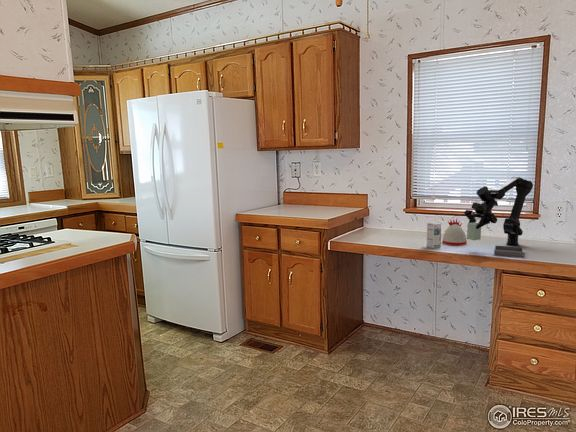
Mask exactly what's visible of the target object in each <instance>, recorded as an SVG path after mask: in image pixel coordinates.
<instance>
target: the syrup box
mask: <svg viewBox="0 0 576 432" xmlns="http://www.w3.org/2000/svg"><path fill="white" fill-rule="evenodd" d="M441 240H442V223H440V222H437V221H433V222H426V247H427V248H430V249H436V248H441V244H442V243H441Z"/></svg>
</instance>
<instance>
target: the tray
mask: <svg viewBox="0 0 576 432" xmlns="http://www.w3.org/2000/svg"><path fill="white" fill-rule="evenodd" d="M493 251H494V253H493V256H499V257H500V256H502V257H514V258H515V257H516V258H524V247H521V246H511V245H497V244H496V245H494V248H493Z"/></svg>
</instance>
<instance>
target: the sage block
mask: <svg viewBox="0 0 576 432" xmlns="http://www.w3.org/2000/svg"><path fill="white" fill-rule="evenodd" d="M478 223H479V222H473V223H469V222H467V230H466V233H467V234H466V236H467V237H466V240H470V241H480V240H481V238H482V237H481V235H482V227H480V228H478V229H476V226H477V225H478Z"/></svg>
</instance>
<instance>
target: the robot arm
mask: <svg viewBox="0 0 576 432" xmlns="http://www.w3.org/2000/svg"><path fill="white" fill-rule="evenodd" d="M513 188H515V192H516V196H515V200H514V202H513V205H512V209H511V212H510V215H509V217H505V219H504V221H503V224H502V225H503V226H502V227H503V228H502V229H503V233H504V234H507V239H506V240H507V241H506V244H505V246H516V247H520V243H519V236H522V235H523V232H524V231H523V230H522V229H521V221H520V216H521V214H522V213H521V212H522V210H523V207H524V204H525V201H526V197H527V196H528V195H529V194H530V193H531V192H532V189H533V188H534V184H533V182H532V181H531V180H527V179H525V178H524V179H523V178H522V177H520V176H512V177H511V178H510V179H509V180H507V181H505V182H504V183H502V184H501V185H499V186H495V187H492V188H490V189H489V188H488V186H482V187H481V188H479V189H477V190H476V195H477V196H478V198H479V199H480V201H482V202H481V203H478V202H473V203H471V209H473V210H471V209H465V210H464V212H463V214H464V215H465V216H466V218H467V219H468V223H473V222H475V223H478V225H477V226H476V229H478V228H480V227H481V228H482V227H484V226H486V225H489V224H496V223H497V222H498V218H497V216H496V215H495V213H492V212H493V211H492V210H493V208H494V207H498V206H499V203H498V201H497V200H502V199H503V198H504V197H505V196H506V193H507V192H509V191H511V190H512V189H513ZM476 218H479V219H480V220H479V222H477V220H476Z"/></svg>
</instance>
